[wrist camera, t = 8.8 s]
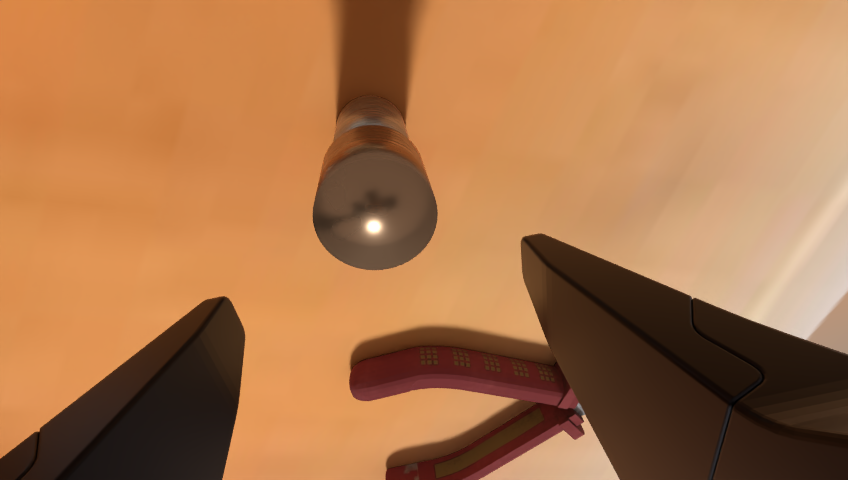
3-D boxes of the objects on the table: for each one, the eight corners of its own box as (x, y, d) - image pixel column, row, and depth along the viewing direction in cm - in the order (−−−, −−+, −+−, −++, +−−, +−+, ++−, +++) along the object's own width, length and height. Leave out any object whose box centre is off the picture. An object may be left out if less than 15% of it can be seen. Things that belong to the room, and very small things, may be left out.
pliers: (675, 412, 31) (699, 445, 29) (388, 474, 31) (390, 512, 29) (697, 277, 25) (730, 306, 23) (344, 351, 25) (343, 388, 23)
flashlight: (415, 159, 19) (444, 257, 13) (342, 174, 19) (331, 280, 13) (402, 83, 18) (427, 147, 11) (321, 98, 18) (296, 172, 11)
